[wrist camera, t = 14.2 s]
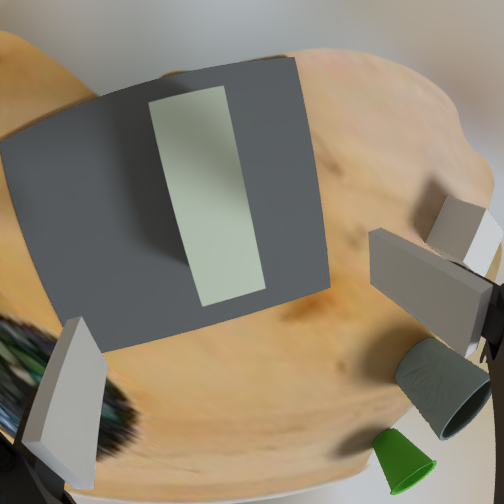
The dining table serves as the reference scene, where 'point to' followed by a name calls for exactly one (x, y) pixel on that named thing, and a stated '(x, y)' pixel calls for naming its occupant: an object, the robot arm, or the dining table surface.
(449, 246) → the small light-grey cube
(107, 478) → the dining table surface
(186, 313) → the mat
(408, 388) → the blue-grey tumbler
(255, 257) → the sage block
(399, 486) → the cup
